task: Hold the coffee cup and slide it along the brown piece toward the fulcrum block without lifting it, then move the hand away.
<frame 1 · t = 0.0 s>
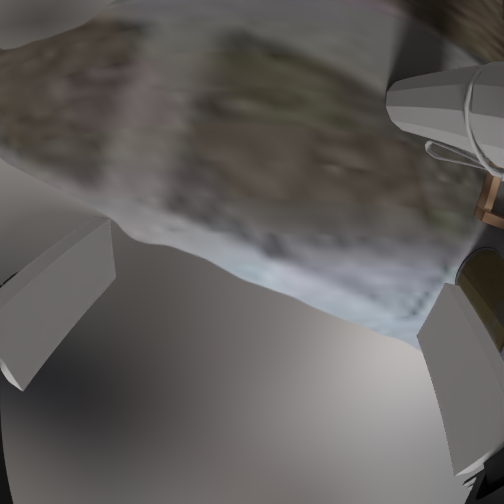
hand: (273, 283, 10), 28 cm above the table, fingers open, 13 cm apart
water bottle: (409, 112, 30), on the table
canister: (478, 275, 38), on the table
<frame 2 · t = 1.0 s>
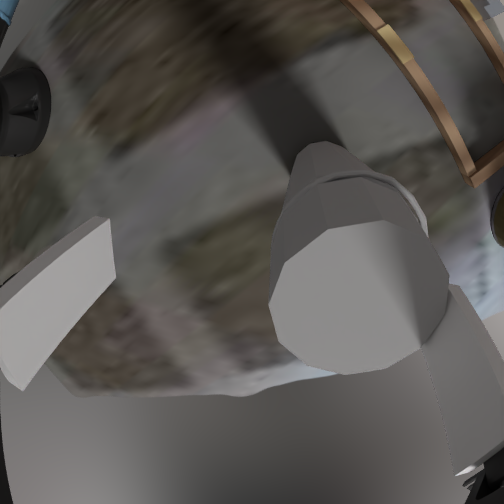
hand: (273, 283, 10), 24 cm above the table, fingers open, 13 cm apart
fulcrum block: (471, 3, 16), on the table
water bottle: (330, 175, 32), on the table
brown piece: (428, 25, 20), on the table
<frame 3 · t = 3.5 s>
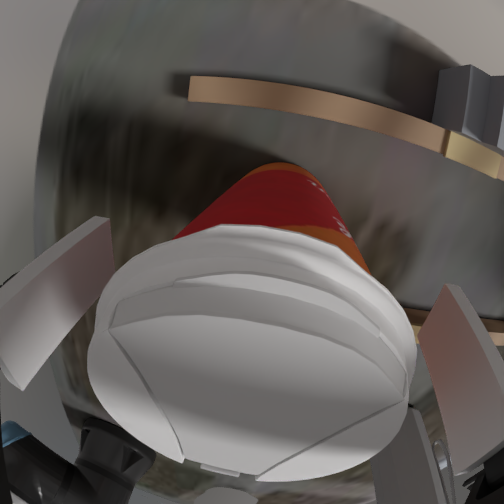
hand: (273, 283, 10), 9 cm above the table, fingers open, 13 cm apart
fulcrum block: (465, 111, 13), on the table
water bottle: (398, 416, 28), on the table
coffee cup: (281, 205, 19), on the table
brown piece: (431, 239, 18), on the table
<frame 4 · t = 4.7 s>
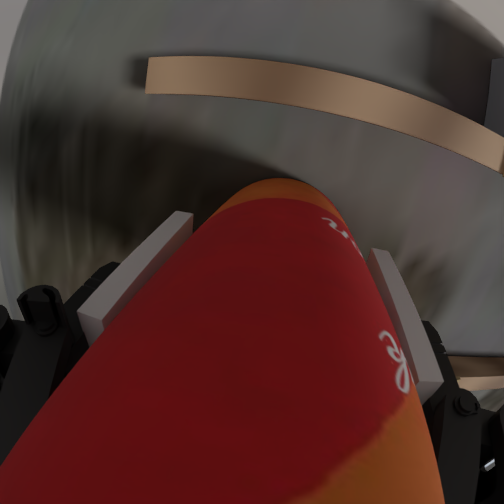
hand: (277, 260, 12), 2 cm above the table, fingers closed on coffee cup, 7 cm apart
coffee cup: (281, 236, 14), on the table, touching gripper
brown piece: (470, 278, 13), on the table
when the fingers open (2 cm above the table, at t = 7.6 s): coffee cup stays where it is, on the table.
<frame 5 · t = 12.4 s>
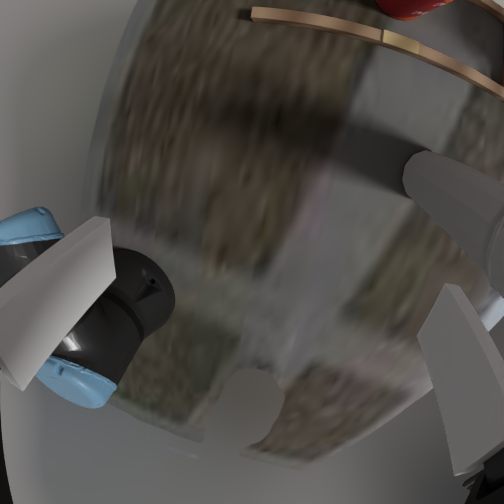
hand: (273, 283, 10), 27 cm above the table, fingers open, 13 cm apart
water bottle: (430, 176, 32), on the table
coffee cup: (396, 1, 21), on the table
brown piece: (399, 2, 21), on the table
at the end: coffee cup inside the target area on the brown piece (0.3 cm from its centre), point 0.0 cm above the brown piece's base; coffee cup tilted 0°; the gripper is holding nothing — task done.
